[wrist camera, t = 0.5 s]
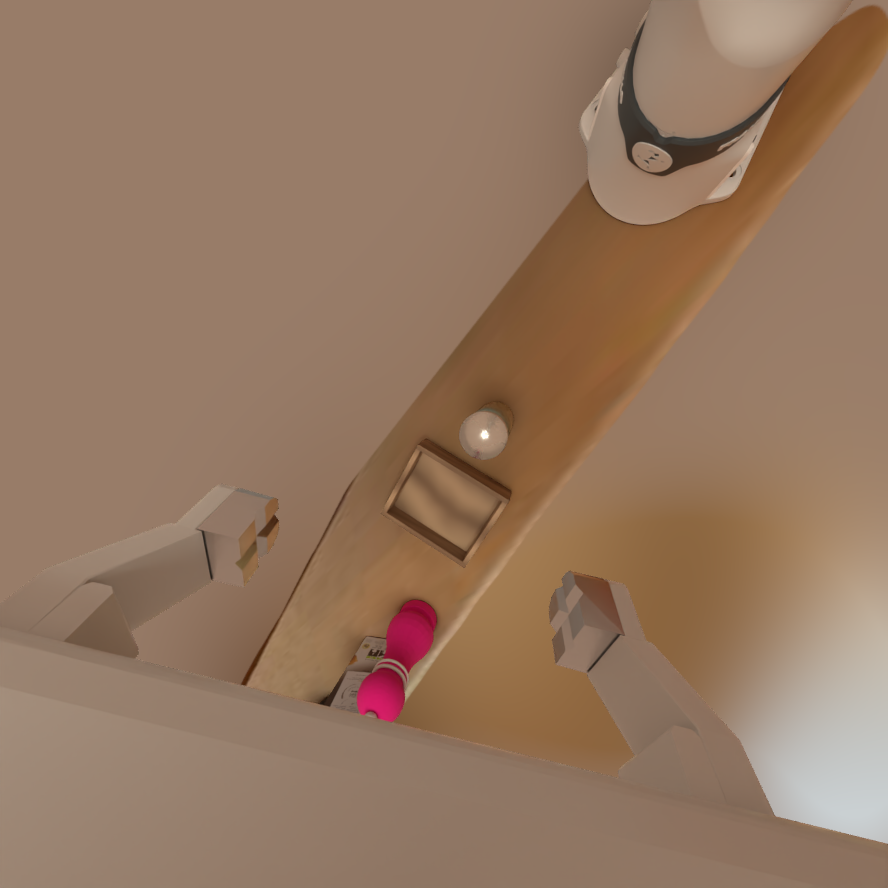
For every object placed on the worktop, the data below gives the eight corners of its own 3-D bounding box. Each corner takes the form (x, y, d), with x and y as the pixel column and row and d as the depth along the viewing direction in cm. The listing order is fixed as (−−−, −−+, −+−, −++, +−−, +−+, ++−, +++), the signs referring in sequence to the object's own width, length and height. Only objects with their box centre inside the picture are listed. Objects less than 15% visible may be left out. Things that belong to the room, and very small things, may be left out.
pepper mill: (444, 634, 61) (403, 754, 42) (405, 636, 63) (348, 753, 44) (433, 594, 60) (385, 700, 41) (393, 598, 62) (330, 701, 43)
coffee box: (364, 635, 65) (312, 717, 50) (398, 640, 64) (355, 726, 48) (368, 679, 67) (319, 771, 52) (402, 685, 65) (361, 782, 50)
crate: (426, 438, 55) (418, 444, 51) (511, 491, 54) (509, 500, 50) (390, 504, 59) (380, 513, 55) (469, 554, 57) (464, 568, 53)
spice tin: (489, 394, 52) (474, 402, 39) (521, 413, 51) (516, 428, 39) (470, 425, 53) (450, 443, 41) (502, 444, 53) (491, 468, 40)
